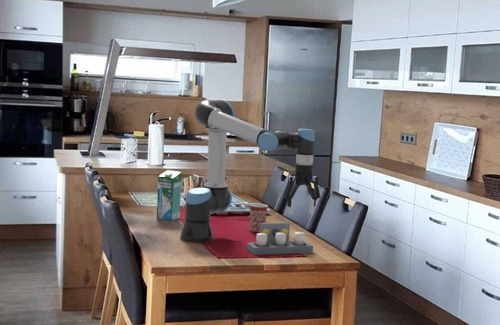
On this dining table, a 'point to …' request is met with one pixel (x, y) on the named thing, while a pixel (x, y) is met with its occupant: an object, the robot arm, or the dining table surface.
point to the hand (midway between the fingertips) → (300, 213)
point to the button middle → (280, 239)
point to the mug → (257, 216)
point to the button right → (299, 238)
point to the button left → (261, 240)
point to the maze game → (238, 209)
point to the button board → (280, 248)
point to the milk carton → (169, 195)
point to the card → (275, 230)
